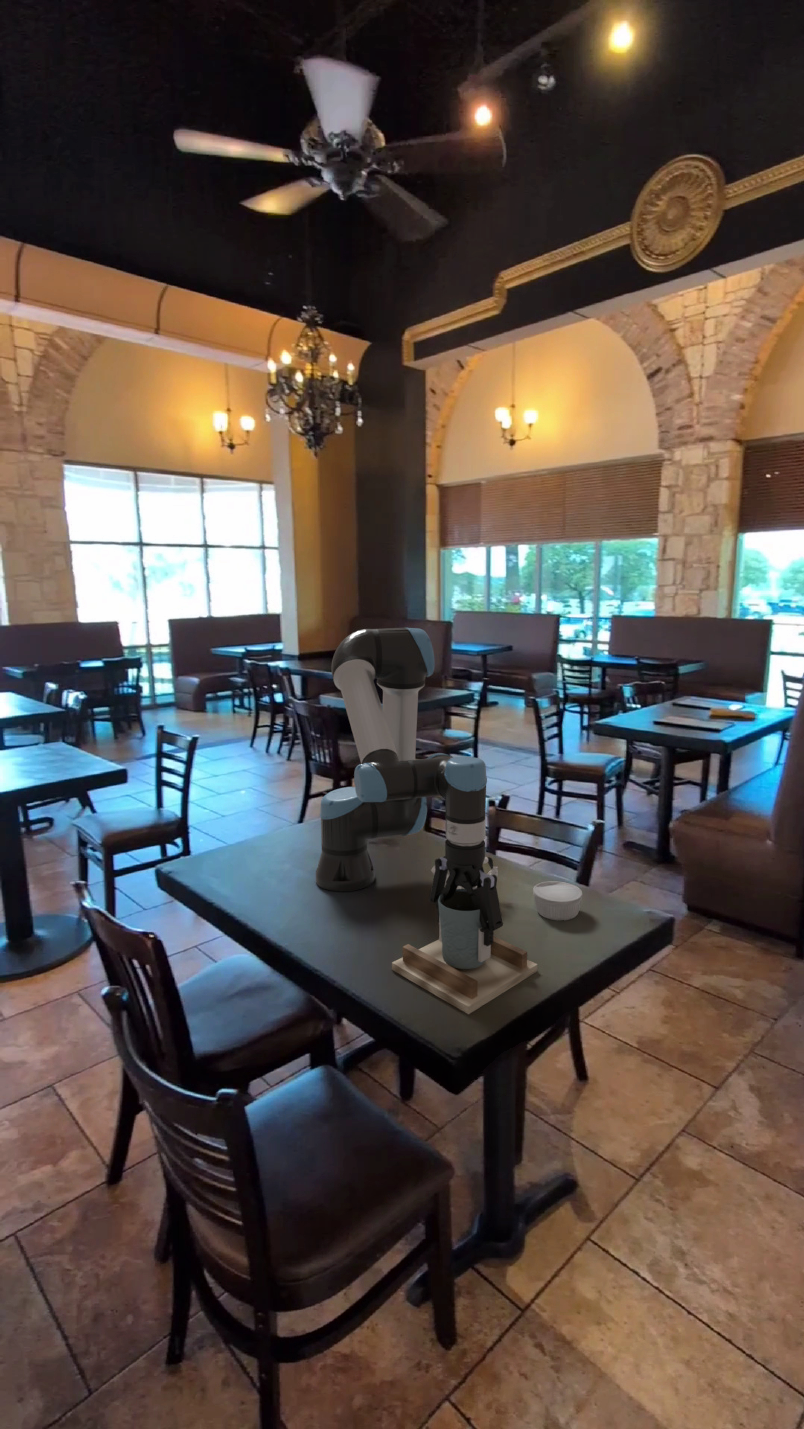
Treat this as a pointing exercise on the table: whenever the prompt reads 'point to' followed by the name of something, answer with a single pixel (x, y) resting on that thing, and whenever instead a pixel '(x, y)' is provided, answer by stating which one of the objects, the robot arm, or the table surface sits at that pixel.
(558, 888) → the ramekin
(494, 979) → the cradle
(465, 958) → the grey-green cup
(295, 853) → the table surface
